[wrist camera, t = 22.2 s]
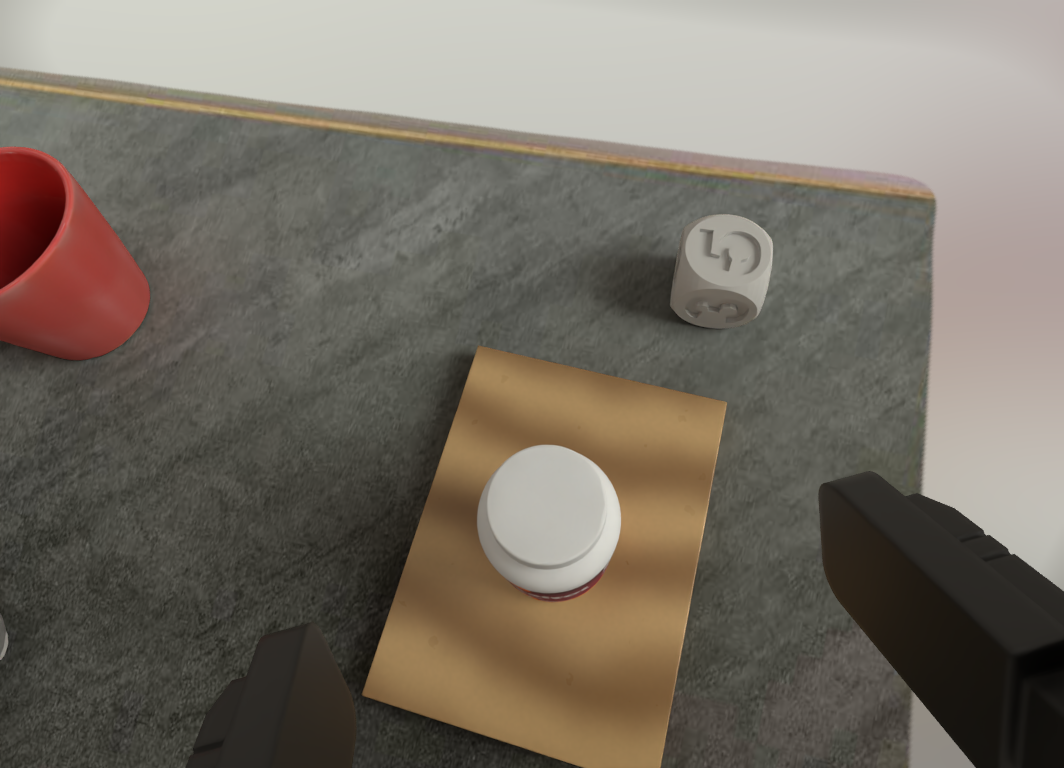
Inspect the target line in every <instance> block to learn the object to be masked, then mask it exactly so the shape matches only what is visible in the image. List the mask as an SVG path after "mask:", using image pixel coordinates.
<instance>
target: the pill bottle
mask: <svg viewBox="0 0 1064 768" xmlns="http://www.w3.org/2000/svg"><path fill="white" fill-rule="evenodd" d="M477 529H478V535H479V539H480V543H481V545H482V548H483V550H484V552H485V554H486V556H487V558H488V559H489V561H490V562H491V564H492V565H493V566H494V568H495V569H496V570H497V571H498V572H499V573H500V574H501V575H502V576H503V577H504V578H505V579H506V580H507V581H509V582H510V583H511V584H512V585H513V586H514V587H515V588H516V589H517V590H519V591H520V592H522V593H523V594H525V595H527V596H529V597H531V598H534V599H536V600H540V601H545V602H562V601H568V600H571V599H574V598H577V597H579V596H581V595H583V594H585V593H586V592H587V591H589V590H590V589H591V588H592V587H593V586H595V585H596V583H597V582H598V581H599V580H600V579H601V577H602V576H603V574H604V572H605V571H606V569H607V566H608V564H609V562H610V560H611V558H612V555H613V553H614V551H615V548H616V546H617V543H618V539H619V534H620V529H621V511H620V505H619V501H618V497H617V494H616V492H615V489H614V487H613V485H612V483H611V482H610V480H609V479H608V477H607V476H606V475H605V473H604V472H603V471H602V470H601V469H600V468H599V467H598V466H597V465H596V464H595V463H594V462H592V461H591V460H589V459H588V458H586V457H585V456H583V455H581V454H579V453H577V452H575V451H573V450H570V449H568V448H565V447H562V446H557V445H537V446H532V447H529V448H526V449H523V450H521V451H519V452H517V453H515V454H514V455H512V456H511V457H509V458H508V459H507V460H506V461H505V462H504V463H503V464H502V465H501V466H500V467H499V468H498V469H497V470H496V471H495V472H494V473H493V475H492V476H491V477H490V479H489V480H488V482H487V484H486V485H485V488H484V490H483V492H482V495H481V498H480V501H479V505H478V512H477Z"/></svg>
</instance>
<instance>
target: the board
mask: <svg viewBox="0 0 1064 768" xmlns="http://www.w3.org/2000/svg"><path fill="white" fill-rule="evenodd" d="M726 406H727V402H724V401H719V400H715V399H710V398H706V397H702V396H697V395H693V394H688V393H684V392H680V391H675V390H671V389H666V388H662V387H658V386H653V385H649V384H644V383H640V382H636V381H631V380H627V379H622V378H618V377H614V376H609V375H605V374H601V373H596V372H592V371H587V370H583V369H579V368H574V367H570V366H565V365H561V364H557V363H552V362H548V361H543V360H539V359H535V358H530V357H526V356H521V355H517V354H513V353H508V352H504V351H499V350H495V349H491V348H486V347H482V346H478V348H477V351H476V354H475V357H474V360H473V363H472V366H471V369H470V372H469V375H468V378H467V381H466V384H465V387H464V390H463V393H462V396H461V399H460V402H459V405H458V408H457V411H456V414H455V417H454V420H453V423H452V426H451V429H450V432H449V435H448V438H447V441H446V444H445V447H444V450H443V453H442V456H441V459H440V462H439V465H438V468H437V471H436V474H435V477H434V480H433V483H432V486H431V489H430V492H429V495H428V498H427V501H426V504H425V507H424V510H423V513H422V516H421V519H420V522H419V525H418V528H417V531H416V534H415V537H414V540H413V542H412V545H411V548H410V551H409V554H408V557H407V560H406V563H405V566H404V569H403V572H402V575H401V578H400V581H399V584H398V587H397V590H396V593H395V596H394V599H393V602H392V605H391V608H390V611H389V614H388V617H387V620H386V623H385V626H384V629H383V632H382V635H381V638H380V641H379V644H378V647H377V650H376V653H375V656H374V659H373V662H372V665H371V668H370V671H369V674H368V677H367V680H366V683H365V686H364V689H363V692H362V696H365V697H368V698H371V699H374V700H377V701H380V702H383V703H386V704H389V705H392V706H395V707H398V708H402V709H405V710H408V711H411V712H414V713H417V714H420V715H423V716H426V717H429V718H432V719H435V720H438V721H441V722H444V723H448V724H451V725H454V726H457V727H460V728H463V729H466V730H469V731H472V732H475V733H478V734H481V735H484V736H487V737H490V738H494V739H497V740H500V741H503V742H506V743H509V744H512V745H515V746H518V747H521V748H524V749H527V750H530V751H533V752H536V753H540V754H543V755H546V756H549V757H552V758H555V759H558V760H561V761H564V762H567V763H570V764H573V765H576V766H579V767H582V768H660V767H661V761H662V756H663V750H664V745H665V739H666V734H667V728H668V723H669V717H670V712H671V707H672V701H673V696H674V690H675V685H676V679H677V674H678V668H679V663H680V657H681V652H682V646H683V641H684V636H685V630H686V625H687V619H688V614H689V608H690V603H691V597H692V592H693V586H694V581H695V575H696V570H697V565H698V559H699V554H700V548H701V543H702V537H703V532H704V526H705V521H706V515H707V510H708V504H709V499H710V493H711V488H712V483H713V477H714V472H715V466H716V461H717V455H718V450H719V444H720V439H721V433H722V428H723V422H724V417H725V412H726ZM537 445H557V446H562V447H565V448H568V449H570V450H573V451H575V452H577V453H579V454H581V455H583V456H585V457H586V458H588V459H589V460H591V461H592V462H594V463H595V464H596V465H597V466H598V467H599V468H600V469H601V470H602V471H603V472H604V473H605V475H606V476H607V477H608V479H609V480H610V482H611V483H612V485H613V487H614V489H615V492H616V494H617V497H618V501H619V505H620V511H621V529H620V534H619V539H618V543H617V546H616V548H615V551H614V553H613V555H612V558H611V560H610V562H609V564H608V566H607V569H606V571H605V572H604V574H603V576H602V577H601V579H600V580H599V581H598V582H597V583H596V585H595V586H593V587H592V588H591V589H590V590H589V591H587V592H586V593H585V594H583V595H581V596H579V597H577V598H574V599H571V600H568V601H562V602H545V601H540V600H536V599H534V598H531V597H529V596H527V595H525V594H523V593H522V592H520V591H519V590H517V589H516V588H515V587H514V586H513V585H512V584H511V583H510V582H509V581H507V580H506V579H505V578H504V577H503V576H502V575H501V574H500V573H499V572H498V571H497V570H496V569H495V568H494V566H493V565H492V564H491V562H490V561H489V559H488V558H487V556H486V554H485V552H484V550H483V548H482V545H481V543H480V539H479V535H478V529H477V512H478V505H479V501H480V498H481V495H482V492H483V490H484V488H485V485H486V484H487V482H488V480H489V479H490V477H491V476H492V475H493V473H494V472H495V471H496V470H497V469H498V468H499V467H500V466H501V465H502V464H503V463H504V462H505V461H506V460H507V459H508V458H509V457H511V456H512V455H514V454H515V453H517V452H519V451H521V450H523V449H526V448H529V447H532V446H537Z"/></svg>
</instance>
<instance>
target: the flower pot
mask: <svg viewBox="0 0 1064 768" xmlns="http://www.w3.org/2000/svg"><path fill="white" fill-rule="evenodd" d="M149 302H150V290H149V285H148V282H147V279H146V278H145V276H144V274H143V272H142V271H141V270H140V268H139V267H138V265H137V264H136V262H135V261H134V259H133V258H132V256H131V255H130V253H129V252H128V250H127V249H126V247H125V246H124V245H123V243H122V242H121V240H120V239H119V237H118V236H117V235H116V233H115V232H114V230H113V229H112V228H111V226H110V225H109V224H108V222H107V221H106V220H105V218H104V217H103V216H102V214H101V213H100V212H99V210H98V209H97V207H96V206H95V205H94V203H93V202H92V201H91V199H90V198H89V197H88V195H87V194H86V193H85V192H84V190H83V189H82V188H81V186H80V185H79V184H78V183H77V181H76V180H75V179H74V177H73V176H72V175H71V174H70V173H69V172H68V170H67V169H66V168H65V167H64V166H63V165H62V164H61V163H60V162H59V161H58V160H56V159H55V158H54V157H52V156H50V155H48V154H46V153H44V152H41V151H39V150H35V149H31V148H25V147H2V148H0V340H1V341H4V342H7V343H10V344H13V345H17V346H20V347H24V348H27V349H31V350H34V351H38V352H41V353H45V354H48V355H52V356H56V357H59V358H63V359H68V360H86V359H90V358H93V357H98V356H102V355H104V354H107V353H109V352H111V351H112V350H114V349H116V348H117V347H119V346H120V345H122V344H123V343H124V342H125V341H127V340H128V339H129V338H130V337H131V336H132V335H133V334H134V332H135V331H136V330H137V329H138V327H139V326H140V325H141V323H142V321H143V319H144V317H145V315H146V313H147V310H148V307H149Z"/></svg>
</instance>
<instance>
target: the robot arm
mask: <svg viewBox="0 0 1064 768" xmlns="http://www.w3.org/2000/svg"><path fill="white" fill-rule="evenodd" d="M818 495H819V513H820V529H821V545H822V560H823V566H824V571H825V574H826V577H827V580H828V582H829V585H830V587H831V589H832V591H833V593H834V594H835V596H836V598H837V599H838V601H839V602H840V603H841V605H842V606H843V607H844V608H845V609H846V611H847V612H848V613H849V614H850V615H851V617H852V618H853V619H854V620H855V622H856V623H857V624H858V625H859V626H860V628H861V629H862V630H863V631H864V632H865V634H866V635H867V636H868V637H869V639H870V640H871V641H872V642H873V643H874V645H875V646H876V647H877V648H878V649H879V651H880V652H881V653H882V654H883V656H884V657H885V658H886V659H887V660H888V662H889V663H890V664H891V665H892V666H893V668H894V669H895V670H896V671H897V673H898V674H899V675H900V676H901V677H902V679H903V680H904V681H905V682H906V683H907V685H908V686H909V687H910V688H911V690H912V691H913V692H914V693H915V694H916V696H917V697H918V698H919V699H920V700H921V702H922V703H923V704H924V705H925V707H926V708H927V709H928V710H929V711H930V713H931V714H932V715H933V716H934V717H935V719H936V720H937V721H938V722H939V723H940V725H941V726H942V727H943V728H944V730H945V731H946V732H947V733H948V734H949V736H950V737H951V738H952V739H953V740H954V742H955V743H956V744H957V745H958V746H959V748H960V749H961V750H962V751H963V752H964V754H965V755H966V756H967V757H968V759H969V760H970V761H971V762H972V763H973V765H974V766H975V767H976V768H1064V591H1062V590H1061V589H1060V588H1059V587H1057V586H1056V585H1055V584H1053V583H1052V582H1051V581H1049V580H1048V579H1047V578H1045V577H1044V576H1043V575H1041V574H1040V573H1039V572H1037V571H1036V570H1035V569H1034V568H1032V567H1031V566H1029V565H1028V564H1027V563H1026V562H1024V561H1023V560H1022V559H1020V558H1019V557H1018V556H1016V555H1015V554H1013V555H1011V554H1010V553H1009V551H1008V549H1007V548H1006V547H1005V546H1003V545H1002V544H1001V543H999V542H998V541H997V540H995V539H994V538H993V537H991V536H990V535H987V536H986V535H985V534H984V531H983V530H982V529H981V528H980V527H978V526H977V525H976V524H974V523H973V522H972V521H970V520H969V519H968V518H967V517H965V516H964V515H962V514H961V513H960V512H959V511H957V510H956V509H955V508H952V507H950V506H947V505H945V504H942V503H940V502H937V501H935V500H932V499H930V498H928V497H925V496H923V495H920V494H918V493H916V494H912V495H909V496H904V495H903V494H901V493H900V492H899V491H898V490H897V489H895V488H894V487H893V486H892V485H890V484H889V483H888V482H887V481H885V480H884V479H883V478H882V477H881V476H879V475H878V474H876V473H874V472H872V471H867V472H863V473H860V474H856V475H852V476H849V477H845V478H841V479H838V480H834V481H831V482H827V483H823V484H822V485H821V486H820V488H819V494H818ZM355 740H356V714H355V708H354V703H353V699H352V696H351V693H350V690H349V688H348V686H347V684H346V682H345V680H344V678H343V675H342V673H341V671H340V669H339V667H338V665H337V663H336V660H335V658H334V656H333V654H332V652H331V650H330V648H329V646H328V643H327V641H326V639H325V637H324V635H323V633H322V631H321V629H320V628H319V626H318V625H317V624H316V623H314V622H311V623H307V624H303V625H300V626H296V627H292V628H289V629H285V630H281V631H278V632H274V633H271V634H267V635H264V636H263V637H261V639H260V640H259V642H258V644H257V647H256V650H255V653H254V656H253V659H252V662H251V665H250V667H249V670H248V673H247V676H246V677H243V678H239V679H236V680H232V681H231V682H230V684H229V685H228V686H227V688H226V689H225V690H224V691H223V693H222V694H221V695H220V697H219V698H218V699H217V701H216V702H215V703H214V705H213V706H212V707H211V709H210V710H209V711H208V712H207V714H206V716H205V719H204V721H203V724H202V727H201V729H200V732H199V734H198V737H197V739H196V742H195V744H194V747H193V751H194V754H193V755H191V756H190V757H189V760H188V762H187V765H186V768H352V762H353V755H354V747H355Z"/></svg>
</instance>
